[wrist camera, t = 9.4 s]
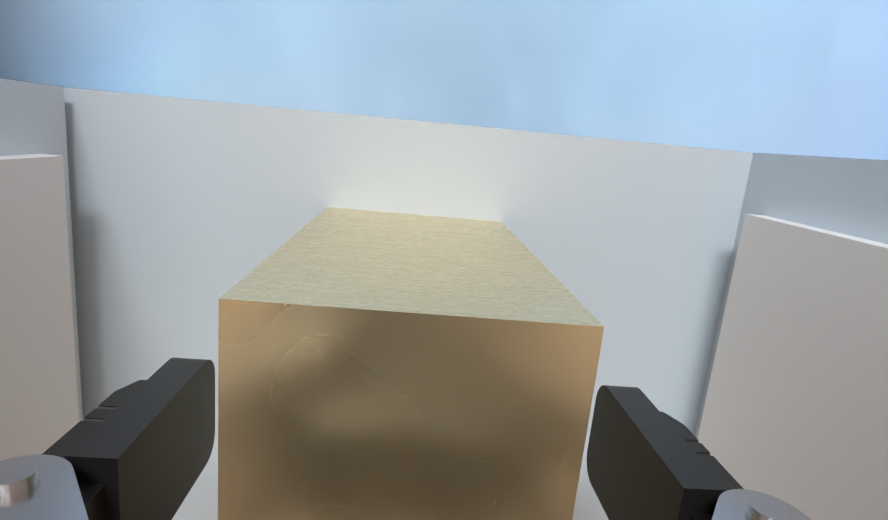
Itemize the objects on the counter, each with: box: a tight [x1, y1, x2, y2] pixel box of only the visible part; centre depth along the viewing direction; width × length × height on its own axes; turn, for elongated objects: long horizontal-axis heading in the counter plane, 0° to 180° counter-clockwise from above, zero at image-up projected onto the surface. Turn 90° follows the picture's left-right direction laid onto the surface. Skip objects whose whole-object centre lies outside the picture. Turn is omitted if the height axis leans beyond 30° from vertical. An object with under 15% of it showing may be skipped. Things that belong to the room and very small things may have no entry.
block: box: [218, 207, 604, 520], centre depth 11 cm, size 4×7×8 cm, turn 175°
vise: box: [64, 87, 888, 520], centre depth 12 cm, size 24×12×10 cm, turn 85°
